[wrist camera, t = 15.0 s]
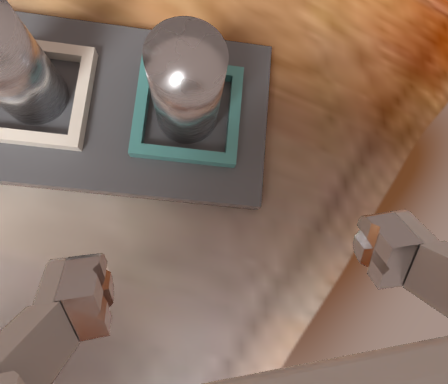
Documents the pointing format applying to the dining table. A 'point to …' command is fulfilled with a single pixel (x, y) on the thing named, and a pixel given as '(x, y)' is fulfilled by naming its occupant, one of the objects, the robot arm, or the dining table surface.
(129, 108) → the grey flat plate
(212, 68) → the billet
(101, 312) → the robot arm
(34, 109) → the grey tall round-topped piece
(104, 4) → the dining table surface
